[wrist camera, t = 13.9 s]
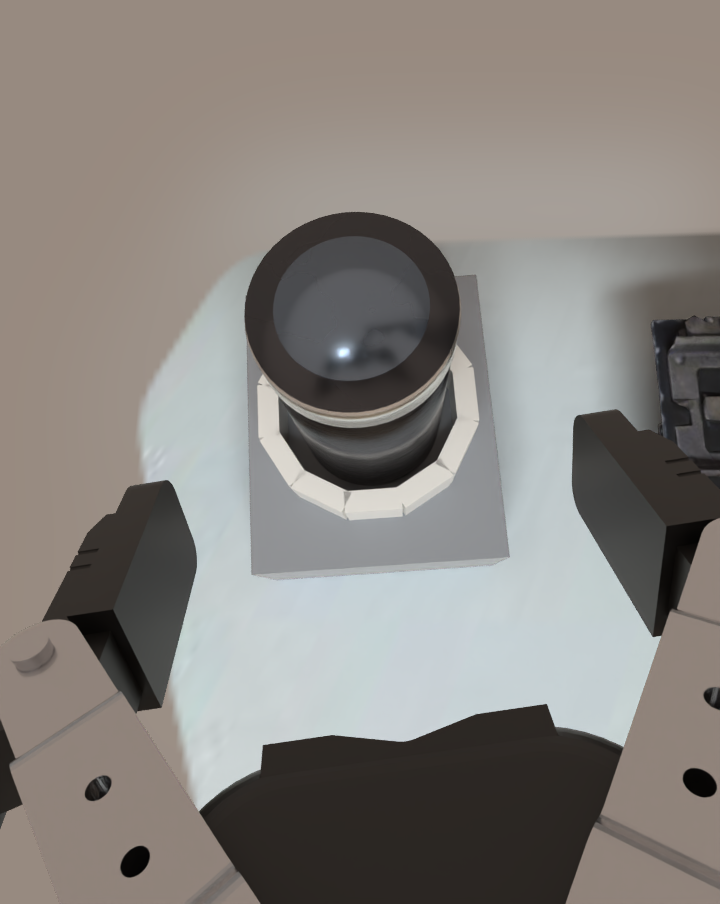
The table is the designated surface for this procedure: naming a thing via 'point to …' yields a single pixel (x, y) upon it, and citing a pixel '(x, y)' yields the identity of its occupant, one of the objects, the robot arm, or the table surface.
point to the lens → (357, 340)
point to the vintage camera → (690, 388)
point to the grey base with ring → (384, 506)
